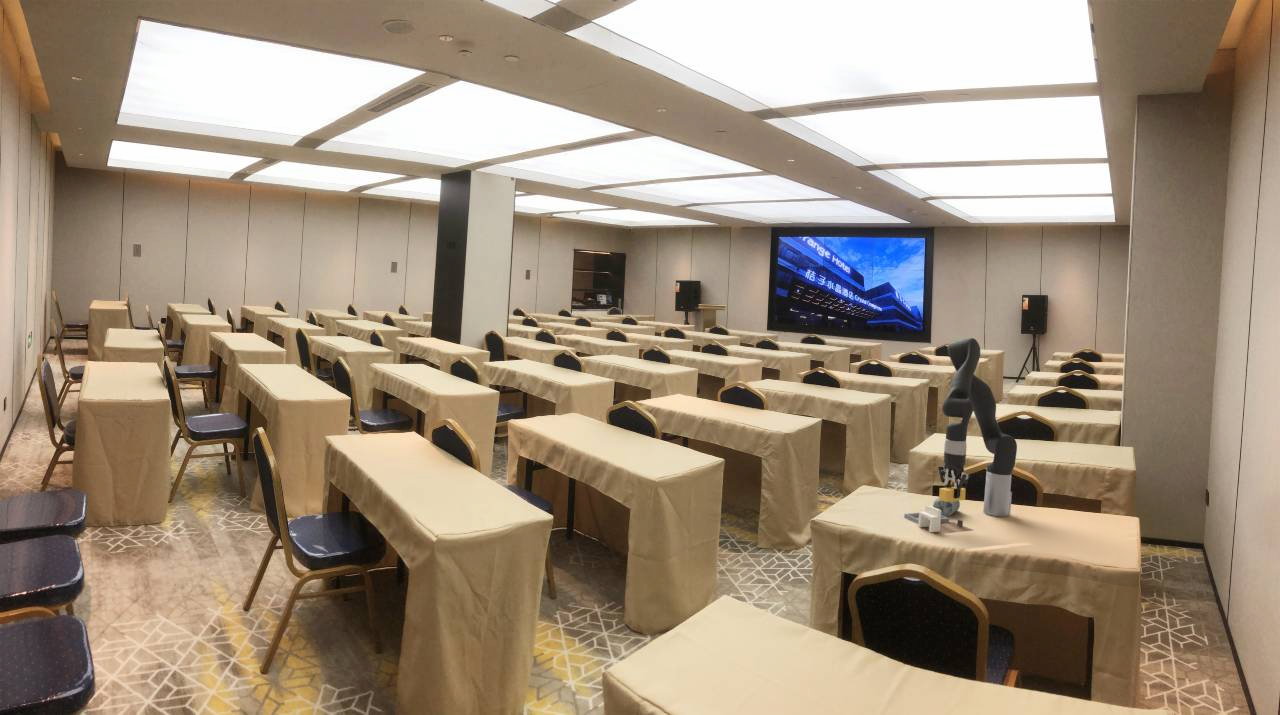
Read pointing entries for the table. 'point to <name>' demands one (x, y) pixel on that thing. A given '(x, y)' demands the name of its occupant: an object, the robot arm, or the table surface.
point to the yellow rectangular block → (950, 494)
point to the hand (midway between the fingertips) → (952, 496)
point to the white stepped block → (930, 514)
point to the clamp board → (950, 527)
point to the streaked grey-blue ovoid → (946, 506)
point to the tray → (912, 516)
